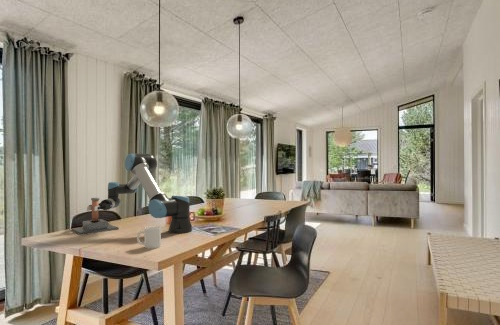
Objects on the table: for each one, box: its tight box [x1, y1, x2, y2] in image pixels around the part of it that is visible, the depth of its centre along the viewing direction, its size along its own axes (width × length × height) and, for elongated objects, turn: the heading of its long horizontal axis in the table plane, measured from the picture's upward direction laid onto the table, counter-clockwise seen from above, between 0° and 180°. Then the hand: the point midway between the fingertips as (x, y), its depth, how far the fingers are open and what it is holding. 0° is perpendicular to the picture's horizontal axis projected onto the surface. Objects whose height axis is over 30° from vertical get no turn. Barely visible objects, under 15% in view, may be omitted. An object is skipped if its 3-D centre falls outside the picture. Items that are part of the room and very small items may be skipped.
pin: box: [90, 197, 100, 221], centre depth 217 cm, size 5×5×15 cm
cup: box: [136, 225, 162, 250], centre depth 171 cm, size 8×12×10 cm
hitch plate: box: [70, 218, 119, 236], centre depth 217 cm, size 24×18×6 cm
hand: (91, 208), depth 211 cm, fingers closed on pin, 4 cm apart
